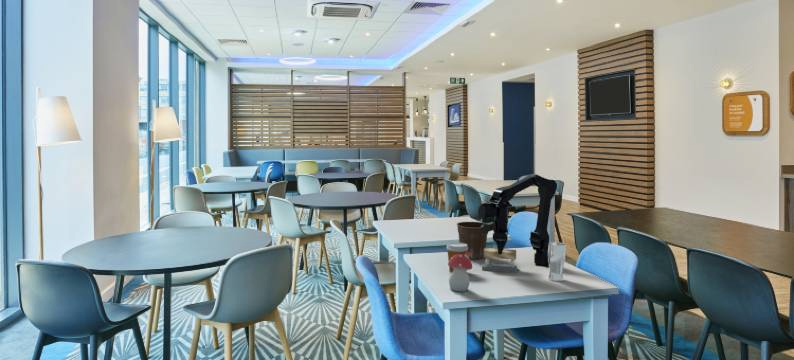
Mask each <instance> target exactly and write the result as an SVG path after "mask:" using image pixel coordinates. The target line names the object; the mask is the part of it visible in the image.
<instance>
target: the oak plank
mask: <svg viewBox="0 0 794 360" xmlns="http://www.w3.org/2000/svg"><path fill="white" fill-rule="evenodd" d="M486 258H489V259H499V260H511V259H512V260H514V261H515V260H517V250H516V249H507V248H505V249H503V251H502V254H501V255H500V254H498V248H492V247H491V248H490V247H489V248H488V247H486V248H484V257H483V258H482V259H486Z"/></svg>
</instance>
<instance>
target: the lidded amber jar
mask: <svg viewBox="0 0 794 360" xmlns="http://www.w3.org/2000/svg"><path fill="white" fill-rule="evenodd" d="M446 250H447V258H448V262H449V260H450V259H451V258H452V257H453V256H454V255H456V254H463V255H465V253H466V252H467V250H468V246H467V244H465V243H459V242H449V243H447V245H446ZM448 267H449V273H452V272H453V270H454V269H453V268H452V267H450V266H448Z"/></svg>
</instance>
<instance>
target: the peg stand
mask: <svg viewBox="0 0 794 360" xmlns="http://www.w3.org/2000/svg"><path fill="white" fill-rule="evenodd" d="M481 270H482V271H488V272H489V271H490V272H503V273H518V265H517V264H515V260H512V259H510V264H507V263H506V264H505V263H504V264H503V263H493V262H490V258H485V262H483V263H482V266H481Z"/></svg>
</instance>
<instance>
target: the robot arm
mask: <svg viewBox="0 0 794 360" xmlns="http://www.w3.org/2000/svg"><path fill="white" fill-rule="evenodd" d="M531 186H535V187H537V192H538V195H539V203H538V205H539V206H538V212H537V220H536V226H535V229H534V231H530V236H529V239H528V240H529V241H530V245H531V246H532V250H533V251H535V252H534V257H533V262H534V264H535V266H539V267H540V266H542V267H549V262H548V246H549V243H550V235H549V231H548V225H549V218H550V211H551V204H552V200H553V198H554V196H555V195H556V194H557V193H556V192H557V190H558V182H557V181H556V180H554V179H549V178H545V177H544V176H541V175H539V174H534V173H530V174H528V175H527V176H525V177H524V178H522V179H521V178H520V180H517V181H515V182H514V183H512V184H510V185H506V186H501V187H500V186H499V187H498V188H495V189H494V190H493V192H492V195H491V196H490V198H489V200H488V201H487V202H481V203H480V205H479V206H478V209H477V214H478V217H479V218H480V219H493V221H492V222H488V223H487V222H486V224H484V225H482V226H481V228H482V231H483V233H486V232H488V233H489V232H492V231H493V233H492V241H494V243H496V249H498V254H500V255H501V254H502V251H503V249H504V248H505V247H506V244H507V242H508V236H509V228H508V224H509V223H508V221H509V220H508V219H509V218H508V217H509V212H508V211H509V208H512V207H513V204H511V202H510V201H511V200H512V199H513V198H514V197H515V195H517V194H519V193H520V192H522V191H524V190H526V189H528V188H530V187H531Z"/></svg>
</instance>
